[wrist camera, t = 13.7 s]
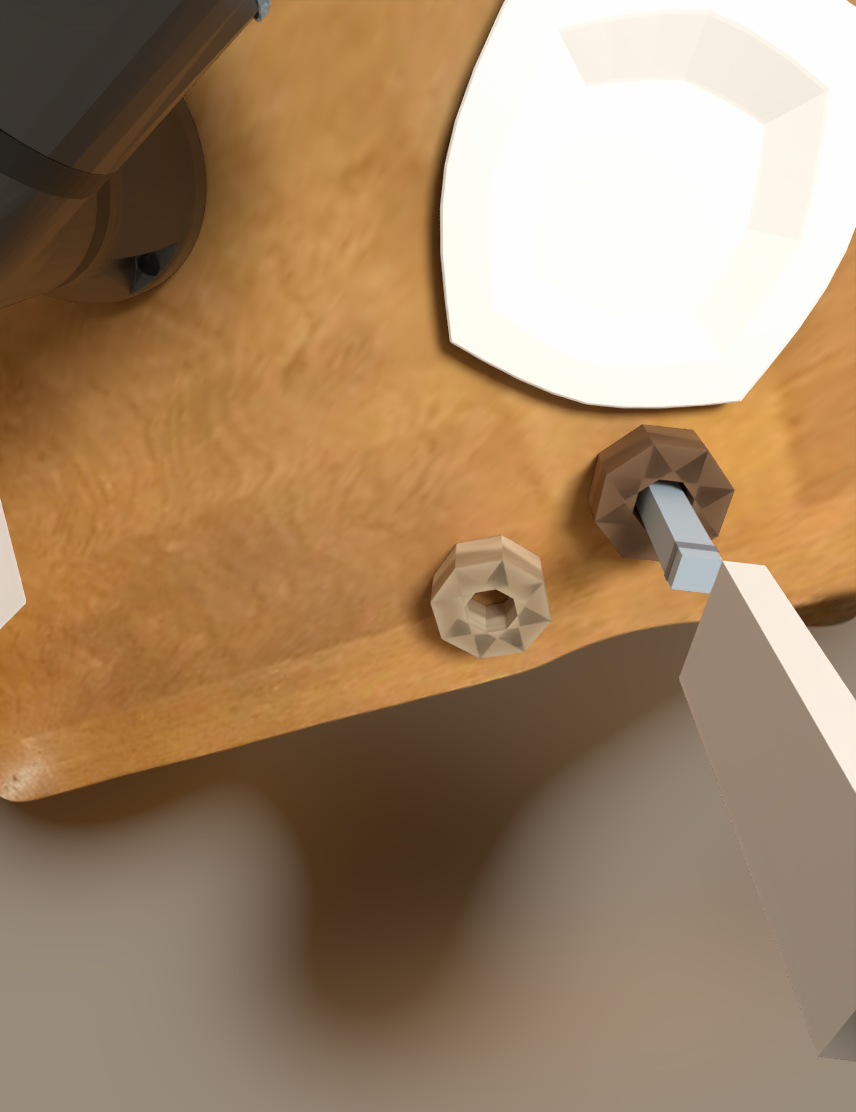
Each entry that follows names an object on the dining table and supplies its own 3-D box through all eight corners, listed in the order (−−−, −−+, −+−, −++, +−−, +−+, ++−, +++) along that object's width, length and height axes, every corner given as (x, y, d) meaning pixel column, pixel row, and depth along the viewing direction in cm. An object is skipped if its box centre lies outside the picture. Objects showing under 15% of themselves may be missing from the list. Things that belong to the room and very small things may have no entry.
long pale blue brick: (639, 466, 48) (681, 554, 38) (672, 470, 48) (723, 559, 38) (631, 496, 49) (670, 589, 39) (663, 500, 49) (710, 594, 39)
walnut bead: (580, 527, 51) (587, 552, 48) (606, 420, 46) (615, 439, 43) (693, 541, 51) (707, 566, 48) (729, 434, 46) (747, 455, 43)
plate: (491, -102, 34) (492, -115, 32) (942, 1, 35) (966, -6, 33) (412, 360, 46) (409, 369, 44) (749, 429, 47) (759, 440, 45)
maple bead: (451, 635, 57) (449, 663, 54) (425, 549, 53) (422, 574, 50) (552, 618, 55) (556, 646, 52) (533, 529, 51) (537, 553, 48)
